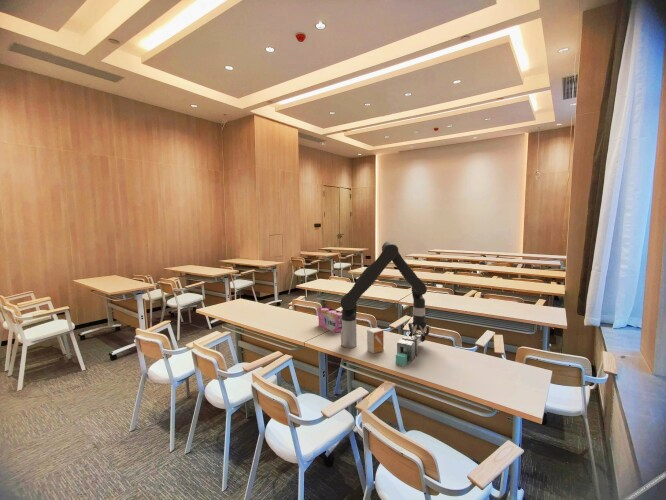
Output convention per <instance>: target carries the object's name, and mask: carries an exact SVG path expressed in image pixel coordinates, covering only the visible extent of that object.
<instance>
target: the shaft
mask: <svg viewBox="0 0 666 500" xmlns="http://www.w3.org/2000/svg"><path fill="white" fill-rule="evenodd" d="M422 336H423V334H422V332H418V331H416V332H415V335H414V336H413V335H412V336H411V337H410V338H412V339H417V340H418V345H419V344H420V343H423V341H422ZM403 352H404V353H408V348H405V347H403Z"/></svg>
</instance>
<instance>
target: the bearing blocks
mask: <svg viewBox="0 0 666 500" xmlns="http://www.w3.org/2000/svg"><path fill="white" fill-rule="evenodd" d="M403 347H405V348H408V353H404V352H403ZM418 347H419V344H418V340H417V339H412V338H411V337H405V336H403V337H402V338H400V339H399V340H398V341H397V342H396V354H397V353H398V352H399V353H403V354H407V362H411V363H412V362H413V361H414V360H416V358H417V357H418V356H419V355H418V353H419V352H418V350H419V348H418Z"/></svg>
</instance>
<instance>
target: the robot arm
mask: <svg viewBox="0 0 666 500" xmlns="http://www.w3.org/2000/svg"><path fill="white" fill-rule="evenodd" d="M392 262H393V264H394V265H395V267H396V268H397V269H398V272H399V273H400V274H401V276H402V277H403V279H404V280H405V281H406V282H407V283H408V284H409V285H410V286H411V293H412V299H413V301H412V303H413V304H412V305H413V309H412V322H411V321H410V322H409V323H408V324H407V325H408V329H409V332H410V333H412V337H413V336H414V335H415V332H417V331H420V333H422V334H423V336H422V341H423V342H425V341H426V340H427V339H426V337H427V336H428V335H429V333H430V330H431V325H428V324H427V323H426V301H425V300H426V299H425V298H424V297H423V295H425V294H426V293H427V291H428V288H427V286H426V284H425V283H424V281H422V280H421V278H419V277H418V276H417V274H416V273H415V271H414V270H413V269H412V268H411V266H410V265H409V264H408V263H407V262H406V260H405V259H404V258H403V256H402V254H400V252H399V247H398V246H397V245H396V243H394V242H393V241H385V242H384V243H383V244H382V246H381V253H380V254H379V255H378V257H377V259H375V261H373V262H372V263H371V264H370V265H368V266H367V267H366V268H365V269H364V270H363V271H362V273H360V275H359V277H358V278H357V279H356V281H355V282H354V284H353V286H352V287H351V289H350V290H349V291H348V292H347V293H346V294H344V295H343V296H342V297H341V299H340V307H341V308H342V311H341V312H342V330H341V332H340V345H341V346H342V347H344V348H346V349H347V348H348V349H352V348H355V347H357V344H358V342H357V302H358V301H359V299H360V298H361V297H362V295H363V294H365V292H366V291H367V290H368V289H369V288H370V287H371V286H372V285H373V284H374V283H375V282H376V280H377V279H378V278H379V276H380V275H381V274H382V273H383V271H384V270H385V269H386V268H387V266H388V265H389V264H390V263H392ZM423 342H422V343H423Z"/></svg>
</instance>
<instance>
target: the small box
mask: <svg viewBox="0 0 666 500" xmlns="http://www.w3.org/2000/svg"><path fill="white" fill-rule="evenodd" d="M366 333H367V335H366V338H367V339H366V342H367V343H366V345H367V346H366V347H367V348H366V351H368V352H370V353H372V354H377V353H380V352H383V351H384V345H385V344H384V343H385V342H384V329H381V328H380V327H374V328H370V329H367V330H366Z"/></svg>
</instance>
